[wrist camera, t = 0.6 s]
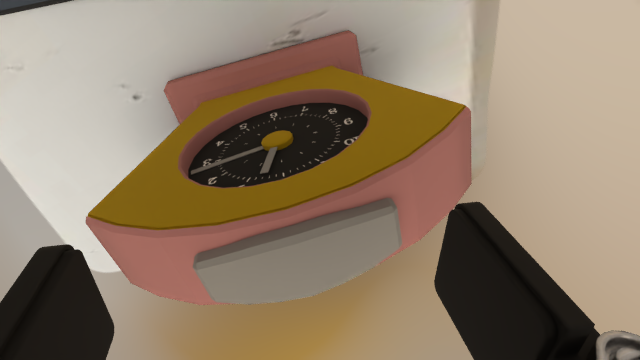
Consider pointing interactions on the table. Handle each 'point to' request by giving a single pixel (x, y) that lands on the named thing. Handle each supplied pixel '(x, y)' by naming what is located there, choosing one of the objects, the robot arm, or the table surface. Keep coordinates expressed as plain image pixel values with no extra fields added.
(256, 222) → the clock
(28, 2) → the mouse pad
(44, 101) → the table surface
